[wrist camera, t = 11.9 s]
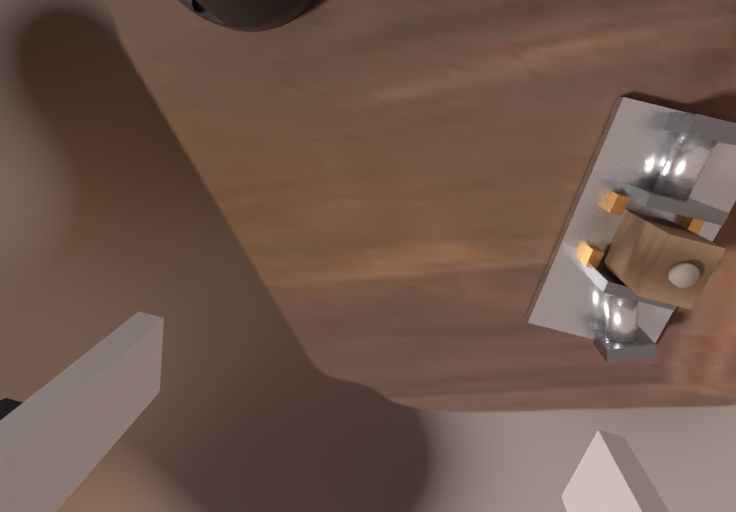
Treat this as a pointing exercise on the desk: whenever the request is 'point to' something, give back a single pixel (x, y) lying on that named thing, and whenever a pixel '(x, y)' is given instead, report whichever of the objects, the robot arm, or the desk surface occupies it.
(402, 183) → the desk surface
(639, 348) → the shaft
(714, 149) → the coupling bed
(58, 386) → the robot arm
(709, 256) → the block
